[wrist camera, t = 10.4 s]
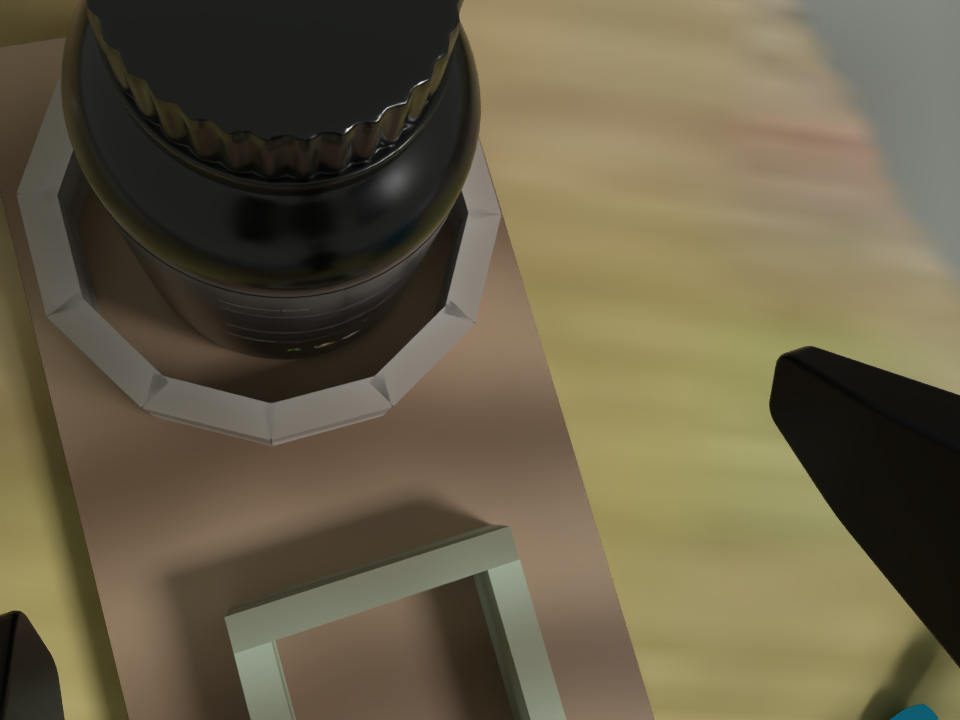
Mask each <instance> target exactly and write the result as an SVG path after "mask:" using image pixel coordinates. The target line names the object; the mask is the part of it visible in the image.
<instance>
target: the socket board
mask: <svg viewBox="0 0 960 720" xmlns="http://www.w3.org/2000/svg"><path fill="white" fill-rule="evenodd" d="M65 41H66V37H63V38H56V39H50V40H43V41H36V42H30V43H23V44H17V45H10V46H3V47H0V191H1V195H2V199H3V203H4V207H5V211H6V216H7V220H8V224H9V228H10V232H11V236H12V240H13V244H14V248H15V252H16V257H17V261H18V265H19V269H20V273H21V277H22V281H23V285H24V289H25V294H26V298H27V302H28V306H29V310H30V314H31V318H32V322H33V326H34V331H35V335H36V339H37V343H38V347H39V351H40V355H41V359H42V363H43V368H44V372H45V376H46V380H47V384H48V388H49V392H50V396H51V400H52V404H53V409H54V413H55V417H56V421H57V425H58V429H59V433H60V437H61V441H62V446H63V450H64V454H65V458H66V462H67V466H68V470H69V474H70V478H71V483H72V487H73V491H74V495H75V499H76V503H77V507H78V511H79V515H80V520H81V524H82V528H83V532H84V536H85V540H86V544H87V548H88V552H89V557H90V561H91V565H92V569H93V573H94V577H95V581H96V585H97V589H98V593H99V598H100V602H101V606H102V610H103V614H104V618H105V622H106V626H107V630H108V635H109V639H110V643H111V647H112V651H113V655H114V659H115V663H116V667H117V672H118V676H119V680H120V684H121V688H122V692H123V696H124V700H125V704H126V709H127V713H128V717H129V720H655V719H654V716H653V713H652V710H651V706H650V703H649V700H648V696H647V693H646V690H645V686H644V683H643V680H642V676H641V673H640V670H639V666H638V663H637V660H636V656H635V653H634V650H633V646H632V643H631V640H630V636H629V633H628V630H627V627H626V623H625V620H624V617H623V613H622V610H621V607H620V603H619V600H618V597H617V593H616V590H615V587H614V583H613V580H612V577H611V573H610V570H609V567H608V563H607V560H606V557H605V553H604V550H603V547H602V544H601V540H600V537H599V534H598V530H597V527H596V524H595V520H594V517H593V514H592V510H591V507H590V504H589V500H588V497H587V494H586V490H585V487H584V484H583V480H582V477H581V474H580V470H579V467H578V464H577V460H576V457H575V454H574V451H573V447H572V444H571V441H570V437H569V434H568V431H567V427H566V424H565V421H564V417H563V414H562V411H561V407H560V404H559V401H558V397H557V394H556V391H555V387H554V384H553V381H552V377H551V374H550V371H549V368H548V364H547V361H546V358H545V354H544V351H543V348H542V344H541V341H540V338H539V334H538V331H537V328H536V324H535V321H534V318H533V314H532V311H531V308H530V304H529V301H528V298H527V294H526V291H525V288H524V285H523V281H522V278H521V275H520V271H519V268H518V265H517V261H516V258H515V255H514V251H513V248H512V245H511V241H510V238H509V235H508V231H507V228H506V225H505V221H504V218H503V215H502V211H501V208H500V205H499V202H498V198H497V195H496V192H495V188H494V185H493V182H492V178H491V175H490V172H489V168H488V165H487V162H486V158H485V155H484V152H483V148H482V145H481V142H480V138H479V137H478V142H477V148H476V152H475V155H474V159H473V162H472V166H471V169H470V171H469V174H468V176H467V179H466V181H465V184H464V186H463V188H462V191H461V193H460V195H459V197H458V199H457V201H456V203H455V204H454V206H453V208H452V210H451V212H450V214H449V215H448V217H447V219H446V221H445V222H444V224H443V226H442V227H441V229H440V231H439V233H438V234H437V236H436V238H435V239H434V241H433V243H432V245H431V246H430V248H429V250H428V251H427V253H426V255H425V257H424V258H423V260H422V262H421V263H420V265H419V267H418V269H417V270H416V272H415V274H414V275H413V277H412V279H411V281H410V282H409V284H408V286H407V287H406V289H405V291H404V292H403V294H402V295H401V296H400V298H399V299H398V301H397V302H396V304H395V305H394V306H393V308H392V309H391V310H390V311H389V312H388V314H387V315H386V316H385V317H384V318H383V319H382V320H381V321H380V322H379V323H378V324H377V325H376V326H374V327H373V328H372V329H371V330H369V331H368V332H367V333H366V334H364V335H363V336H361V337H360V338H358V339H356V340H355V341H353V342H351V343H349V344H347V345H346V346H344V347H342V348H339V349H337V350H334V351H331V352H329V353H325V354H322V355H318V356H314V357H309V358H303V359H292V360H274V359H264V358H258V357H253V356H248V355H244V354H241V353H238V352H234V351H232V350H230V349H227V348H225V347H222V346H220V345H218V344H216V343H214V342H212V341H211V340H209V339H207V338H206V337H204V336H203V335H201V334H200V333H198V332H197V331H195V330H194V329H193V328H191V327H190V326H189V325H188V324H186V323H185V322H184V321H183V320H182V319H181V318H180V317H179V316H178V315H177V314H176V313H175V312H174V311H173V310H172V309H171V307H170V306H169V305H168V304H167V303H166V301H165V300H164V299H163V297H162V296H161V295H160V294H159V292H158V291H157V289H156V288H155V286H154V285H153V283H152V282H151V280H150V279H149V277H148V276H147V274H146V273H145V271H144V269H143V268H142V266H141V265H140V263H139V262H138V260H137V259H136V257H135V256H134V254H133V253H132V251H131V250H130V248H129V246H128V245H127V243H126V242H125V240H124V239H123V237H122V236H121V234H120V233H119V231H118V230H117V228H116V227H115V225H114V223H113V222H112V220H111V219H110V217H109V216H108V214H107V213H106V211H105V210H104V208H103V207H102V205H101V203H100V202H99V200H98V199H97V197H96V196H95V194H94V192H93V190H92V189H91V187H90V185H89V183H88V181H87V179H86V178H85V176H84V174H83V171H82V169H81V167H80V165H79V162H78V160H77V157H76V155H75V152H74V150H73V148H72V145H71V142H70V138H69V135H68V131H67V128H66V124H65V118H64V113H63V107H62V95H61V70H62V58H63V52H64V46H65Z"/></svg>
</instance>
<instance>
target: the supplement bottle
mask: <svg viewBox="0 0 960 720" xmlns="http://www.w3.org/2000/svg"><path fill="white" fill-rule="evenodd" d="M463 1H464V0H80V2H79V3H78V6H77V8H76V11H75V13H74V16H73V18H72V21H71V23H70V26H69V30H68V34H67V37H66V41H65V46H64V52H63V58H62V70H61V95H62V107H63V113H64V118H65V124H66V128H67V131H68V135H69V138H70V142H71V145H72V148H73V150H74V152H75V155H76V157H77V160H78V162H79V165H80V167H81V169H82V171H83V174H84V176H85V178H86V179H87V181H88V183H89V185H90V187H91V189H92V190H93V192H94V194H95V196H96V197H97V199H98V200H99V202H100V203H101V205H102V207H103V208H104V210H105V211H106V213H107V214H108V216H109V217H110V219H111V220H112V222H113V223H114V225H115V227H116V228H117V230H118V231H119V233H120V234H121V236H122V237H123V239H124V240H125V242H126V243H127V245H128V246H129V248H130V250H131V251H132V253H133V254H134V256H135V257H136V259H137V260H138V262H139V263H140V265H141V266H142V268H143V269H144V271H145V273H146V274H147V276H148V277H149V279H150V280H151V282H152V283H153V285H154V286H155V288H156V289H157V291H158V292H159V294H160V295H161V296H162V297H163V299H164V300H165V301H166V303H167V304H168V305H169V306H170V307H171V309H172V310H173V311H174V312H175V313H176V314H177V315H178V316H179V317H180V318H181V319H182V320H183V321H184V322H185V323H186V324H188V325H189V326H190V327H191V328H193V329H194V330H195V331H197V332H198V333H200V334H201V335H203V336H204V337H206V338H207V339H209V340H211V341H212V342H214V343H216V344H218V345H220V346H222V347H225V348H227V349H230V350H232V351H234V352H238V353H241V354H244V355H248V356H253V357H258V358H264V359H274V360H292V359H303V358H309V357H314V356H318V355H322V354H325V353H329V352H331V351H334V350H337V349H339V348H342V347H344V346H346V345H347V344H349V343H351V342H353V341H355V340H356V339H358V338H360V337H361V336H363V335H364V334H366V333H367V332H368V331H369V330H371V329H372V328H373V327H374V326H376V325H377V324H378V323H379V322H380V321H381V320H382V319H383V318H384V317H385V316H386V315H387V314H388V312H389V311H390V310H391V309H392V308H393V306H394V305H395V304H396V302H397V301H398V299H399V298H400V296H401V295H402V294H403V292H404V291H405V289H406V287H407V286H408V284H409V282H410V281H411V279H412V277H413V275H414V274H415V272H416V270H417V269H418V267H419V265H420V263H421V262H422V260H423V258H424V257H425V255H426V253H427V251H428V250H429V248H430V246H431V245H432V243H433V241H434V239H435V238H436V236H437V234H438V233H439V231H440V229H441V227H442V226H443V224H444V222H445V221H446V219H447V217H448V215H449V214H450V212H451V210H452V208H453V206H454V204H455V203H456V201H457V199H458V197H459V195H460V193H461V191H462V188H463V186H464V184H465V181H466V179H467V176H468V174H469V171H470V169H471V166H472V162H473V159H474V155H475V152H476V148H477V142H478V137H479V130H480V117H481V103H480V87H479V79H478V73H477V68H476V64H475V60H474V56H473V53H472V50H471V47H470V44H469V41H468V38H467V35H466V33H465V31H464V29H463V26H462V24H461V22H460V20H459V12H460V10H461V7H462V4H463Z"/></svg>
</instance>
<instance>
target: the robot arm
mask: <svg viewBox="0 0 960 720" xmlns="http://www.w3.org/2000/svg"><path fill="white" fill-rule="evenodd" d="M769 407H770V413H771V416H772V418H773V421H774V422H775V424H776V426H777V427H778V429H779V430H780V432H781V433H782V435H783V436H784V438H785V440H786V441H787V443H788V444H789V446H790V447H791V449H792V450H793V452H794V453H795V455H796V456H797V458H798V459H799V461H800V462H801V464H802V465H803V467H804V468H805V470H806V472H807V473H808V475H809V476H810V478H811V479H812V481H813V482H814V484H815V485H816V487H817V488H818V490H819V491H820V493H821V494H822V496H823V497H824V499H825V501H826V502H827V503H828V505H829V506H830V508H831V509H832V510H833V512H834V513H835V515H836V516H837V517H838V519H839V520H840V521H841V523H842V524H843V525H844V526H845V528H846V529H847V530H848V532H849V533H850V534H851V535H852V537H853V538H854V539H855V540H856V541H857V543H858V544H859V545H860V546H861V548H862V549H863V550H864V551H865V552H866V554H867V555H868V556H869V557H870V559H871V560H872V561H873V562H874V563H875V565H876V566H877V567H878V568H879V570H880V571H881V572H882V573H883V575H884V576H885V577H886V578H887V579H888V581H889V582H890V583H891V584H892V586H893V587H894V588H895V589H896V590H897V592H898V593H899V594H900V595H901V597H902V598H903V599H904V600H905V602H906V603H907V604H908V605H909V606H910V608H911V609H912V610H913V611H914V613H915V614H916V615H917V616H918V617H919V619H920V620H921V621H922V622H923V624H924V625H925V626H926V627H927V628H928V630H929V631H930V632H931V633H932V635H933V636H934V637H935V638H936V640H937V641H938V642H939V643H940V644H941V646H942V647H943V648H944V649H945V651H946V652H947V653H948V654H949V655H950V657H951V658H952V659H953V660H954V662H955V663H956V664H957V665H958V666H959V668H960V395H958V394H955V393H952V392H949V391H946V390H943V389H940V388H937V387H934V386H931V385H928V384H925V383H922V382H919V381H916V380H913V379H910V378H907V377H904V376H901V375H898V374H895V373H892V372H889V371H886V370H883V369H880V368H877V367H874V366H871V365H868V364H865V363H862V362H859V361H856V360H853V359H850V358H847V357H844V356H841V355H838V354H835V353H832V352H829V351H826V350H823V349H820V348H816V347H813V346H806V347H802V348H799V349H796V350H793V351H790V352H787V353H784V354H782V355H781V356H780V357H779V359H778V360H777V362H776V366H775V372H774V378H773V384H772V389H771V395H770V401H769ZM0 720H65V719H64V712H63V705H62V698H61V691H60V684H59V677H58V672H57V668H56V665H55V662H54V660H53V657H52V655H51V654H50V652H49V650H48V649H47V647H46V646H45V644H44V643H43V641H42V639H41V638H40V636H39V635H38V633H37V632H36V630H35V628H34V627H33V625H32V624H31V622H30V621H29V619H28V618H27V616H26V615H25V614H24V613H22V612H21V611H11V612H8V613H5V614H2V615H0Z"/></svg>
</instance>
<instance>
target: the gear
mask: <svg viewBox="0 0 960 720" xmlns="http://www.w3.org/2000/svg"><path fill="white" fill-rule="evenodd" d="M890 720H938V718H937V716H936V715H935V713H934V712H933V711H932V710H931V709H930V708H929V707H928V706H926V705H924V704H920V705H914V706H912V707H909V708H907V709H905V710H903V711H901V712H900V713H898V714H897V715H895V716H894V717H893V718H891V719H890Z"/></svg>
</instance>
